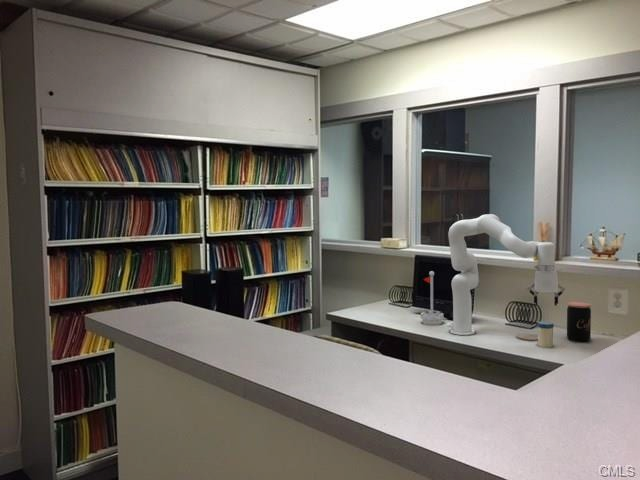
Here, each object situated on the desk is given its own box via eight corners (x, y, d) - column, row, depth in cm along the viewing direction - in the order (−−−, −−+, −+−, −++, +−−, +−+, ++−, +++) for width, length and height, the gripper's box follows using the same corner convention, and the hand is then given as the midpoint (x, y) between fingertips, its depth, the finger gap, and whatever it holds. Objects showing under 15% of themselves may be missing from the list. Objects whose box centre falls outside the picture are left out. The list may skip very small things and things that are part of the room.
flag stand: (446, 321, 313) (445, 270, 311) (440, 326, 302) (439, 273, 300) (424, 319, 319) (423, 269, 317) (417, 324, 308) (417, 272, 306)
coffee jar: (577, 343, 260) (578, 306, 259) (561, 338, 270) (562, 302, 269) (595, 341, 263) (596, 305, 262) (579, 336, 273) (579, 301, 272)
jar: (536, 346, 257) (536, 324, 256) (540, 343, 262) (540, 321, 261) (550, 348, 253) (550, 326, 252) (554, 345, 258) (554, 323, 257)
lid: (535, 327, 256) (535, 323, 256) (540, 324, 262) (540, 320, 262) (550, 329, 252) (550, 325, 252) (555, 326, 257) (555, 322, 257)
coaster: (514, 338, 271) (514, 337, 271) (521, 334, 280) (521, 333, 280) (536, 341, 265) (536, 340, 264) (543, 337, 273) (543, 336, 273)
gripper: (526, 269, 254) (526, 305, 255) (567, 269, 249) (566, 307, 250) (526, 267, 261) (526, 302, 262) (565, 267, 256) (565, 304, 257)
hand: (545, 304), depth 256 cm, fingers open, 8 cm apart
